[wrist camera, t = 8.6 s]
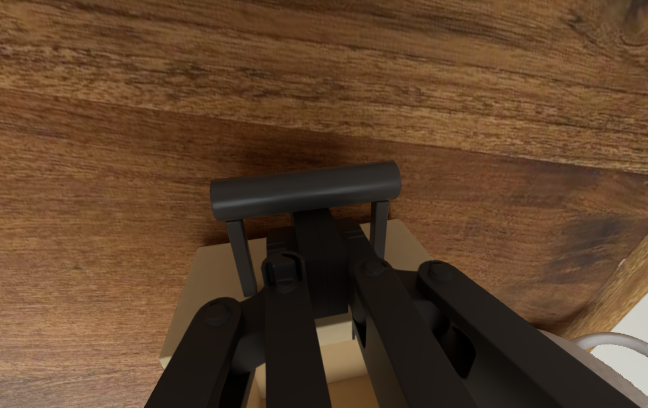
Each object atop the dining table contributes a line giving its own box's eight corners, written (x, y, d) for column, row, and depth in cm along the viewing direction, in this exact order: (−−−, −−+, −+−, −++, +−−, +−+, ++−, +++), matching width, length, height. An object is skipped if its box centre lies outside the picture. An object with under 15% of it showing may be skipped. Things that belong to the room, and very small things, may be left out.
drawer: (166, 153, 13) (87, 230, 7) (408, 130, 15) (503, 177, 9) (245, 393, 23) (238, 508, 17) (383, 362, 25) (420, 456, 19)
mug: (587, 274, 26) (832, 436, 15) (598, 325, 32) (785, 473, 20) (455, 354, 28) (582, 549, 17) (486, 389, 34) (599, 556, 22)
